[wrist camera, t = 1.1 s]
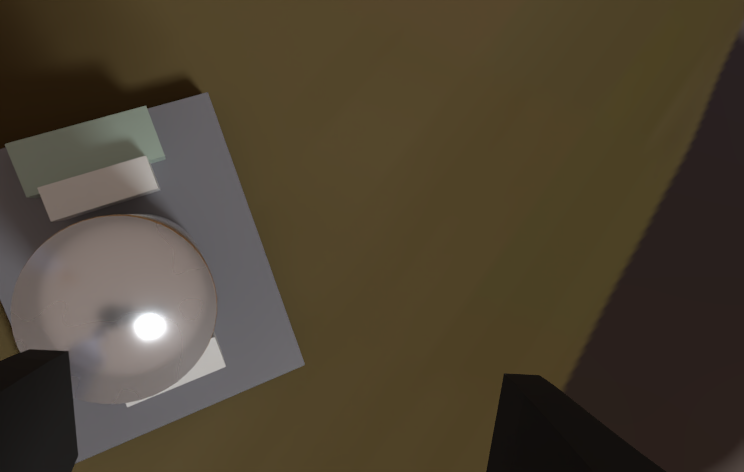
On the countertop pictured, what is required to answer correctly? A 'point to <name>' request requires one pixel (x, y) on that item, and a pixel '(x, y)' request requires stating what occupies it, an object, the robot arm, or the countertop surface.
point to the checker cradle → (174, 202)
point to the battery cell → (118, 305)
